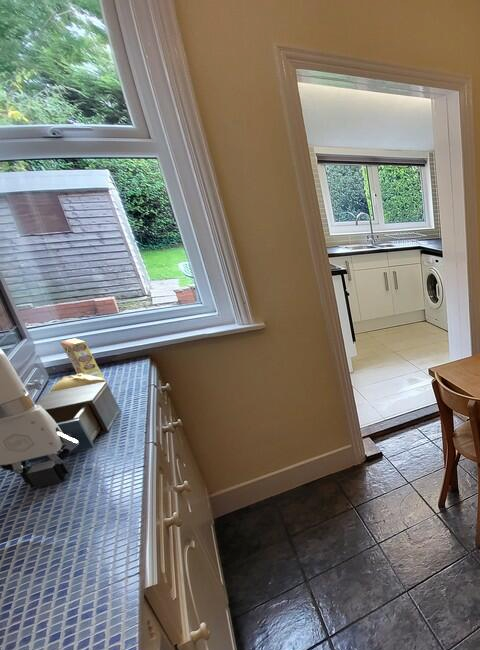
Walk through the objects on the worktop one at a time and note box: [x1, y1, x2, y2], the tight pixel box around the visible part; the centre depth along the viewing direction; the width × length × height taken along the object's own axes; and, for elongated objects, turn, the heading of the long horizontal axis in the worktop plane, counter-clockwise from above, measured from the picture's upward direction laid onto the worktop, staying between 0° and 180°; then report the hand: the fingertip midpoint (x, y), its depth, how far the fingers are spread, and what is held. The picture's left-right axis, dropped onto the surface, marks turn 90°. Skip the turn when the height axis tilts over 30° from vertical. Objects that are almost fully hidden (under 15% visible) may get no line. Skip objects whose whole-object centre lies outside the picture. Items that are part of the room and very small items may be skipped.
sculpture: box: [50, 373, 107, 392], centre depth 122 cm, size 11×12×11 cm
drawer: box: [27, 403, 102, 464], centre depth 100 cm, size 18×11×8 cm, turn 32°
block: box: [27, 459, 63, 490], centre depth 90 cm, size 4×4×4 cm
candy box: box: [60, 338, 106, 381], centre depth 139 cm, size 9×4×15 cm, turn 61°
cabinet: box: [34, 381, 121, 435], centre depth 111 cm, size 15×13×10 cm
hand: (51, 479), depth 90 cm, fingers closed on block, 4 cm apart
